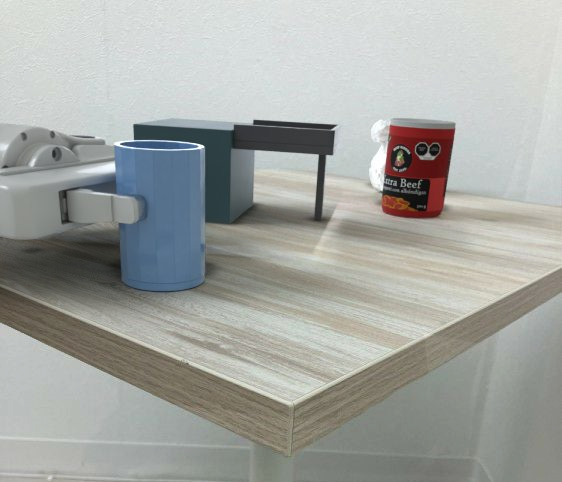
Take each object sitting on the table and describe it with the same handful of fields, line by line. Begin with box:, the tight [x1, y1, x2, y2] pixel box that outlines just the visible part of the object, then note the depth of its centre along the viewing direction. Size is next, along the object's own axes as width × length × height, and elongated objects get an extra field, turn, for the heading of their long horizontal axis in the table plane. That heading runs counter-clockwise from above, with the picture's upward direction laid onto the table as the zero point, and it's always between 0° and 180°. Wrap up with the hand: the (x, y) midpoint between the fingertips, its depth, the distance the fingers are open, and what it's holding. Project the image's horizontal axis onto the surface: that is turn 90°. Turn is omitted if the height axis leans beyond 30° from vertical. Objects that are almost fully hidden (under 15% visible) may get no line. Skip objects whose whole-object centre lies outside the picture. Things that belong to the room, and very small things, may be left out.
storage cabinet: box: [132, 117, 344, 225], centre depth 70 cm, size 20×12×10 cm, turn 81°
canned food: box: [380, 117, 456, 219], centre depth 80 cm, size 8×8×11 cm
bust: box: [368, 118, 392, 192], centre depth 95 cm, size 12×8×11 cm
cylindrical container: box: [113, 140, 206, 292], centre depth 49 cm, size 6×6×10 cm
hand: (171, 202), depth 48 cm, fingers closed on cylindrical container, 6 cm apart
